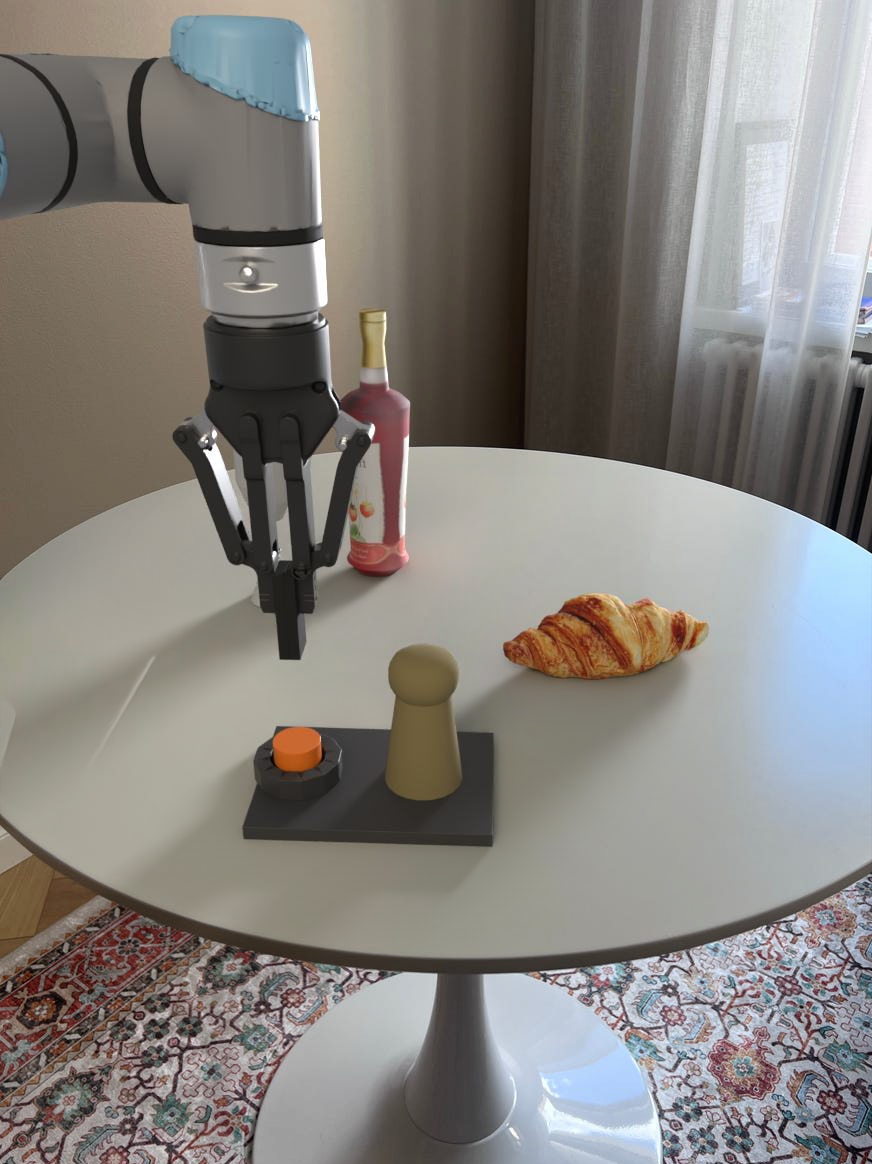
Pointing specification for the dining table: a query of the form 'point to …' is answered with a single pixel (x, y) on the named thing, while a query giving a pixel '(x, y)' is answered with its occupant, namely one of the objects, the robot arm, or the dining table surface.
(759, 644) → the dining table surface
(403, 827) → the base
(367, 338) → the liquor
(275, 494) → the chalice
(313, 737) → the switch
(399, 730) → the cork
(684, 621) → the croissant
